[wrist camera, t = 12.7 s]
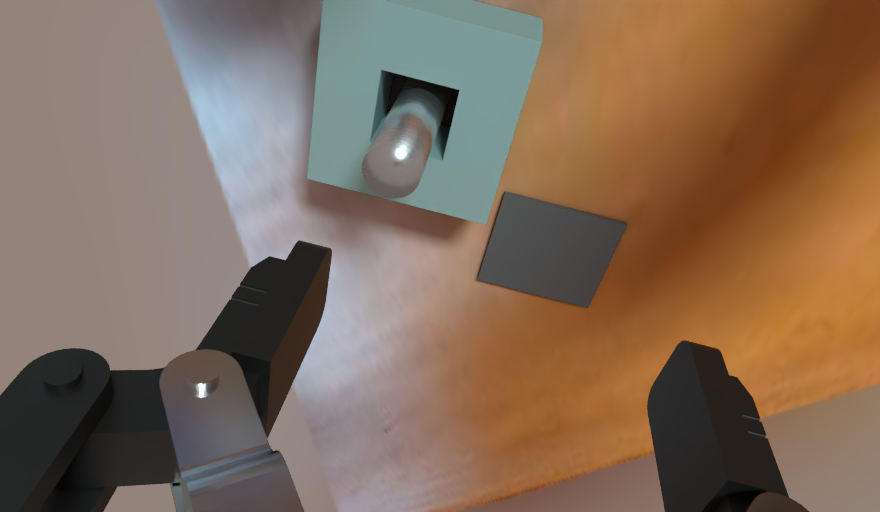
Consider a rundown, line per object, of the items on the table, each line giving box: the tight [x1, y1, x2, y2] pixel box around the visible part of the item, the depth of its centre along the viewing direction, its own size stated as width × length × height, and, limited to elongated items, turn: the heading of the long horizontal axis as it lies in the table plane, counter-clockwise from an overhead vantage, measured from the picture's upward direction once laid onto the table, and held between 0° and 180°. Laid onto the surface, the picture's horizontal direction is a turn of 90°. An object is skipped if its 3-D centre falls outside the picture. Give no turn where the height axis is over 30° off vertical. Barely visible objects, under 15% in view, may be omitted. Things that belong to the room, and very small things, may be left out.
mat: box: [477, 192, 627, 308], centre depth 46 cm, size 9×8×1 cm
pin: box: [362, 77, 451, 198], centre depth 35 cm, size 3×3×12 cm
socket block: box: [307, 0, 543, 225], centre depth 38 cm, size 12×12×5 cm
